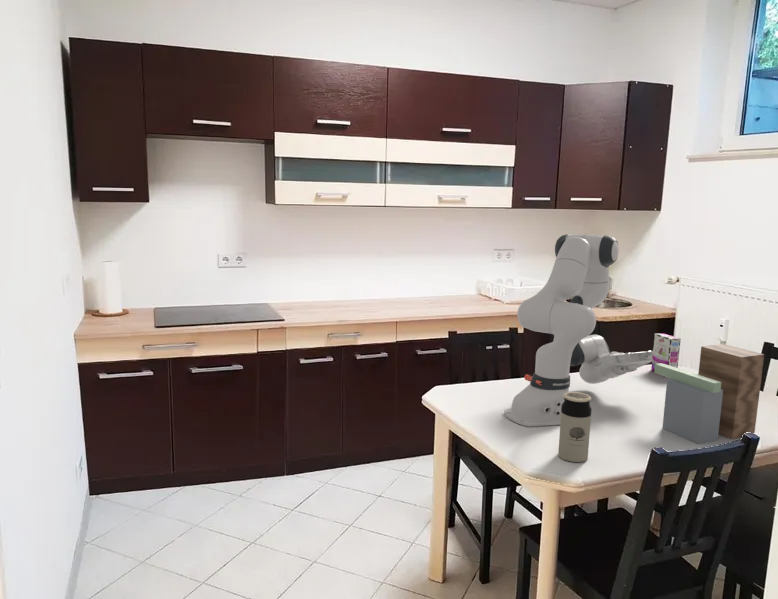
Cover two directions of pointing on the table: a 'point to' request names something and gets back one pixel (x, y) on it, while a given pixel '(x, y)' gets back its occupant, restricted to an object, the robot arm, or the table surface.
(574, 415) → the travel mug
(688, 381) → the rail
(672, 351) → the candy bar box
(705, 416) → the grey pedestal
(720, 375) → the walnut stand
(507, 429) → the table surface
